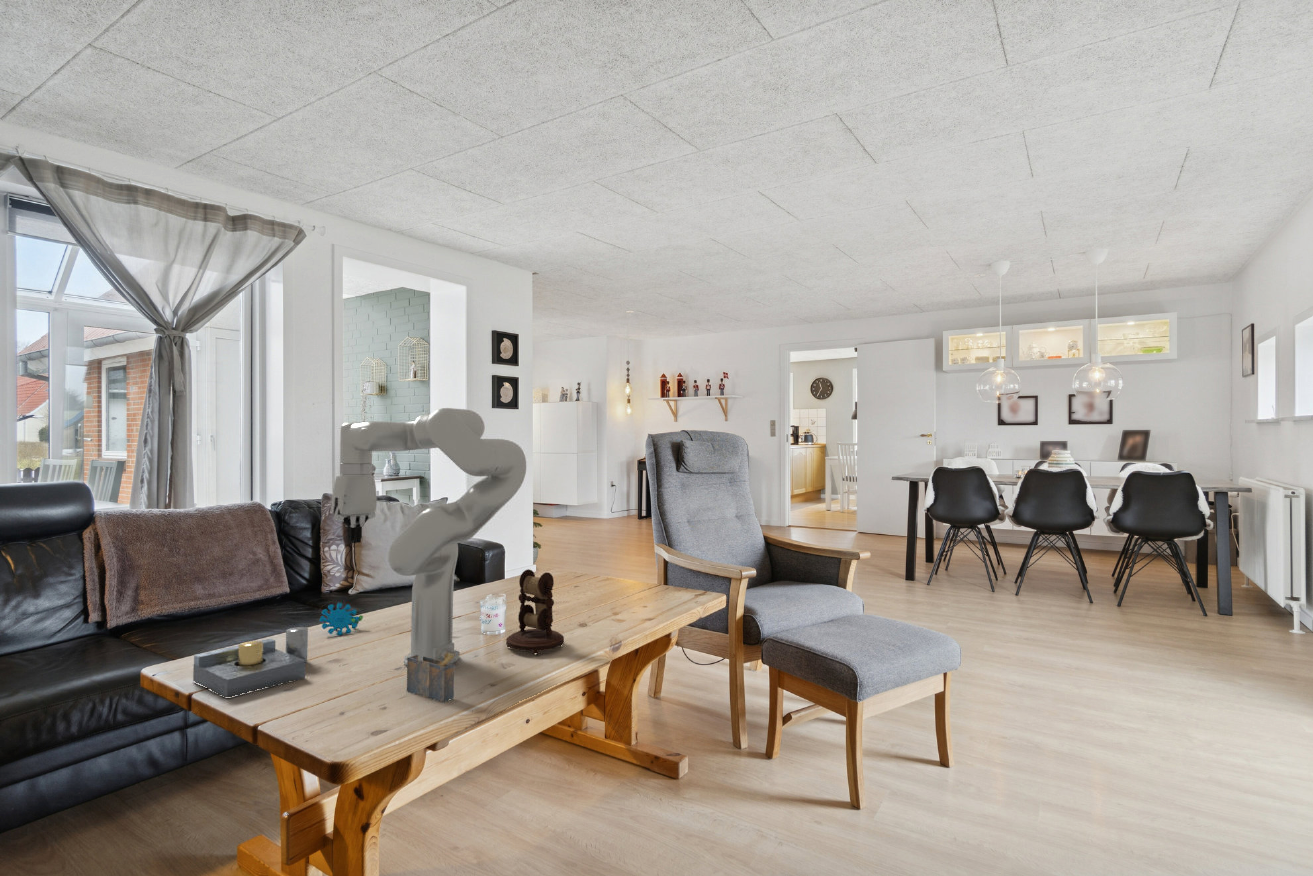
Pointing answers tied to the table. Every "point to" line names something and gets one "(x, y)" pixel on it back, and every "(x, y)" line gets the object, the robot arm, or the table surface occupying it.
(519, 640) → the brown spool rack
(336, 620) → the blue spiky piece
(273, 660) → the jig
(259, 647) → the brass cylinder plug
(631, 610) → the table surface
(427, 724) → the table surface
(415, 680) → the rusty open-top box
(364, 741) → the table surface
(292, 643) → the metal cylinder plug
